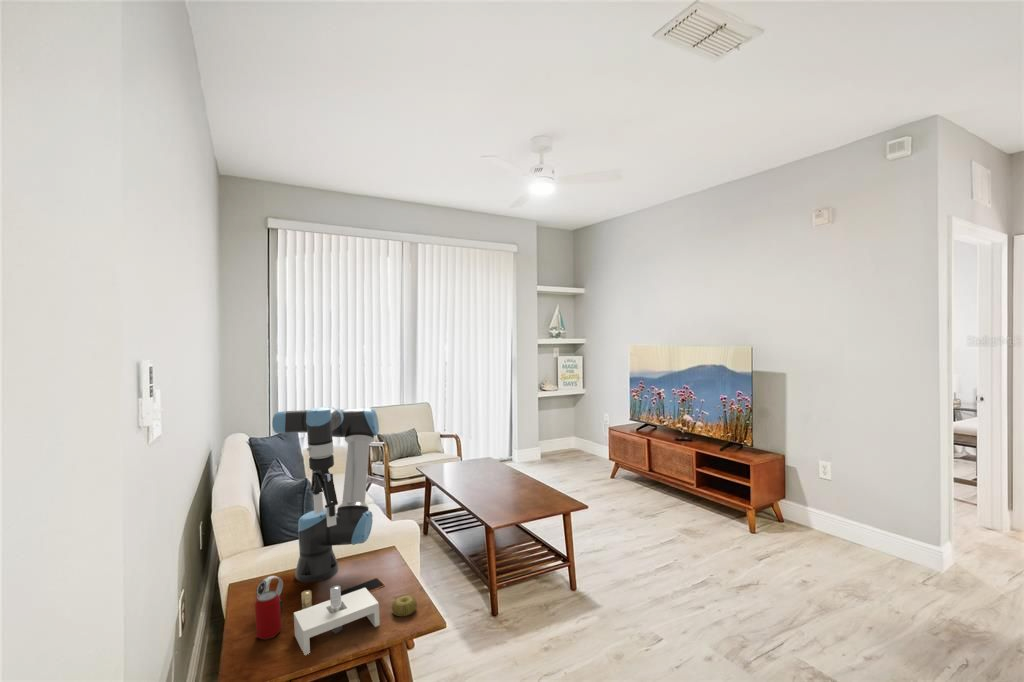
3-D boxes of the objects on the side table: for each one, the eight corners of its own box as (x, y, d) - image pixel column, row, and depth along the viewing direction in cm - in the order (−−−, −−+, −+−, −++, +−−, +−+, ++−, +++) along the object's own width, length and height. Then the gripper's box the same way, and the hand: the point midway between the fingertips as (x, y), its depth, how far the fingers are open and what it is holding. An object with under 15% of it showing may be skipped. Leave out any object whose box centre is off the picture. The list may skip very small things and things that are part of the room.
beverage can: (281, 625, 151) (279, 587, 151) (281, 636, 145) (279, 597, 145) (256, 632, 148) (254, 593, 148) (256, 644, 142) (254, 603, 142)
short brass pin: (301, 613, 157) (300, 592, 157) (311, 609, 159) (309, 588, 159) (303, 617, 155) (302, 595, 155) (313, 613, 157) (312, 592, 157)
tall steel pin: (330, 629, 148) (328, 587, 148) (340, 625, 150) (338, 584, 149) (333, 634, 145) (331, 591, 145) (343, 630, 147) (341, 588, 147)
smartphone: (331, 596, 168) (331, 593, 168) (377, 579, 178) (377, 577, 178) (338, 605, 162) (338, 602, 162) (385, 587, 172) (385, 585, 172)
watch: (254, 614, 158) (253, 581, 158) (278, 602, 165) (276, 570, 165) (263, 619, 155) (261, 585, 155) (287, 607, 162) (285, 574, 161)
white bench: (294, 635, 146) (293, 612, 145) (366, 608, 159) (365, 587, 159) (304, 655, 136) (303, 631, 136) (379, 625, 149) (378, 602, 149)
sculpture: (402, 590, 161) (421, 596, 158) (403, 602, 161) (422, 608, 158) (386, 603, 154) (405, 608, 151) (386, 615, 154) (406, 621, 151)
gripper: (298, 450, 165) (302, 511, 166) (321, 466, 145) (325, 535, 146) (321, 446, 169) (325, 505, 170) (345, 461, 150) (349, 527, 151)
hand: (325, 519), depth 158 cm, fingers open, 13 cm apart
